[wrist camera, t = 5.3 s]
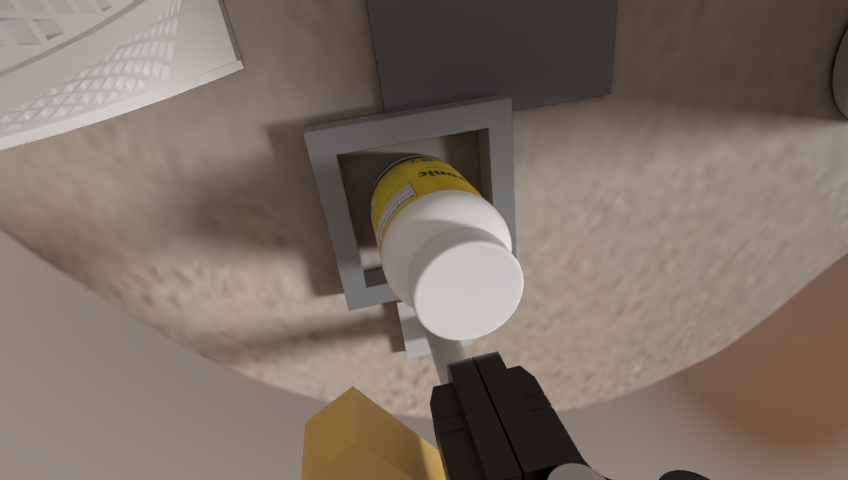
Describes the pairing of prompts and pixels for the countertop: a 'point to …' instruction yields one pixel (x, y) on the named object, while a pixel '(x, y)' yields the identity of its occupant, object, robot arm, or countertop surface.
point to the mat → (492, 50)
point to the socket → (393, 129)
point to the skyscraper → (103, 59)
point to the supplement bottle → (444, 248)
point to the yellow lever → (365, 444)
